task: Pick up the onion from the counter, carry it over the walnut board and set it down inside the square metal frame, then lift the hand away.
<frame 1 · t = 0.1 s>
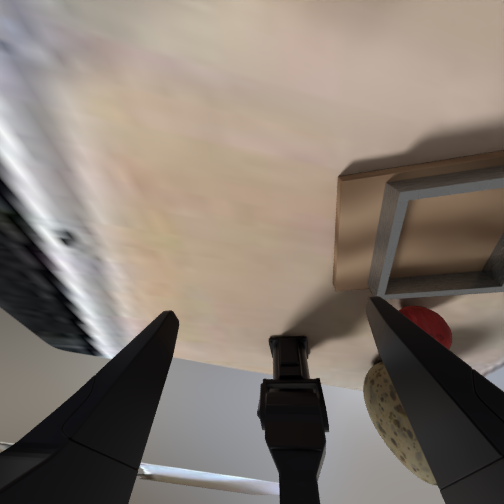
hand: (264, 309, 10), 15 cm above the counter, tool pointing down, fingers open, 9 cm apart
decorative egg: (384, 363, 39), on the counter
onion: (403, 306, 30), on the counter
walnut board: (432, 227, 22), on the counter
square metal frame: (450, 241, 20), on the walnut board, point 3 cm above the counter
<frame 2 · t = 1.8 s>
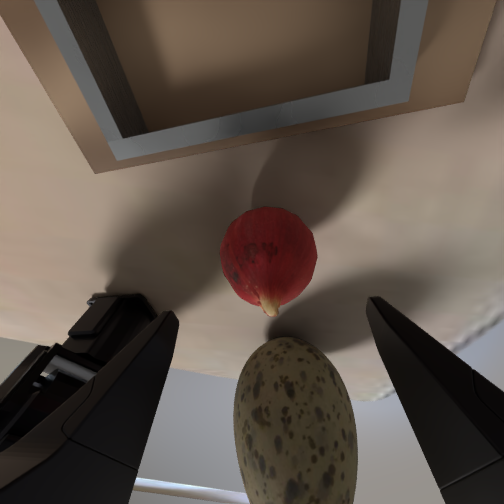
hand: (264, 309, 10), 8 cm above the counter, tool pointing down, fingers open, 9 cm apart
decorative egg: (286, 341, 25), on the counter
onion: (268, 225, 16), on the counter
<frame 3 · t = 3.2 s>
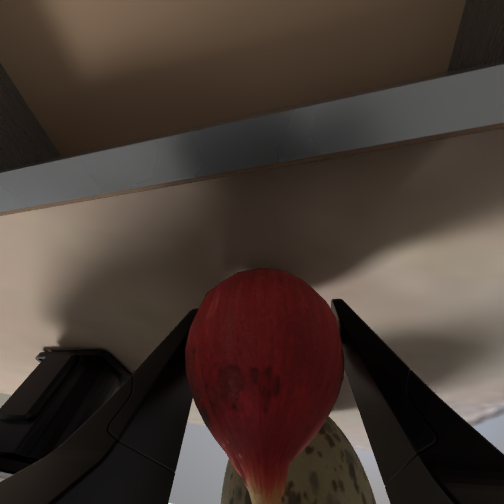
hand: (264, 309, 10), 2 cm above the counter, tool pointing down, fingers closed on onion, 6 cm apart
decorative egg: (289, 397, 20), on the counter
onion: (265, 277, 11), on the counter, touching gripper
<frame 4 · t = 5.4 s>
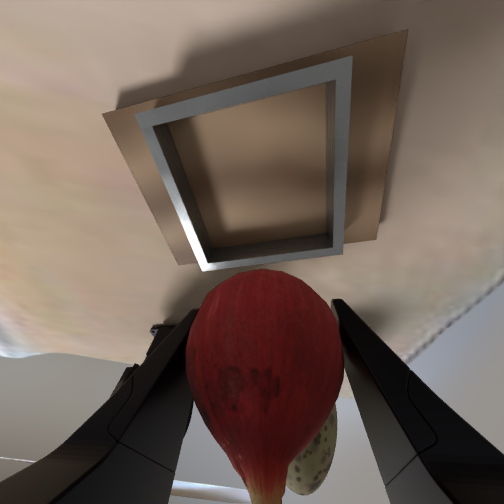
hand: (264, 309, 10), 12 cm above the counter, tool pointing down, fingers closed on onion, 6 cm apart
decorative egg: (289, 354, 35), on the counter
onion: (265, 277, 11), point 10 cm above the counter, touching gripper
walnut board: (257, 179, 18), on the counter
square metal frame: (256, 189, 16), on the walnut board, point 3 cm above the counter
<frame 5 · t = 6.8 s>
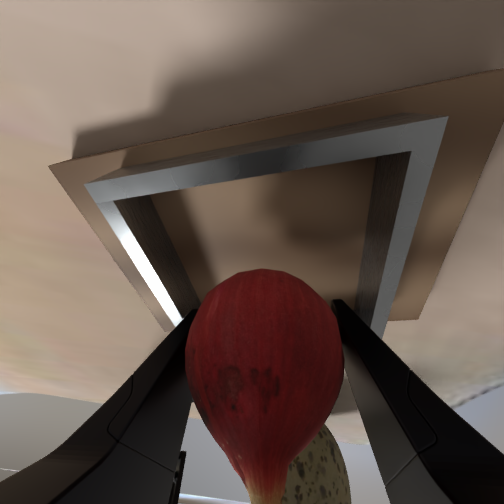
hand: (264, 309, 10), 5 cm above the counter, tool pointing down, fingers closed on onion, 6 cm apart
decorative egg: (294, 406, 31), on the counter
onion: (265, 277, 11), point 3 cm above the counter, touching gripper
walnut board: (267, 243, 14), on the counter
square metal frame: (266, 270, 12), on the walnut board, point 3 cm above the counter
when the fingers open (5 cm above the counter, at t = 7.8 s): onion drops 1 cm, resting on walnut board.
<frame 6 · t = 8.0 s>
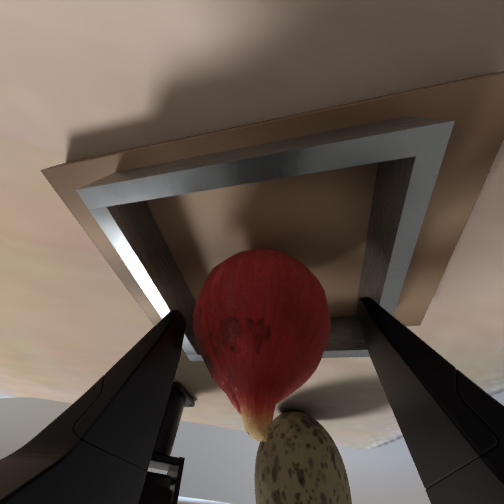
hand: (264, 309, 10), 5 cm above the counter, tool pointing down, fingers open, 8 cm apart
decorative egg: (294, 411, 30), on the counter
onion: (266, 262, 13), point 1 cm above the counter, touching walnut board
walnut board: (266, 248, 14), on the counter
square metal frame: (265, 276, 11), on the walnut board, point 3 cm above the counter
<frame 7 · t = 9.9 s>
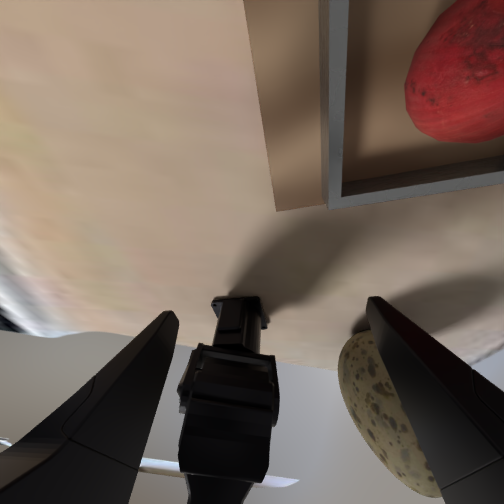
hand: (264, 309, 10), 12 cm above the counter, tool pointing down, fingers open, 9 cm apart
decorative egg: (367, 333, 30), on the counter
onion: (432, 73, 12), point 1 cm above the counter, touching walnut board
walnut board: (420, 73, 13), on the counter
square metal frame: (450, 69, 11), on the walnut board, point 3 cm above the counter
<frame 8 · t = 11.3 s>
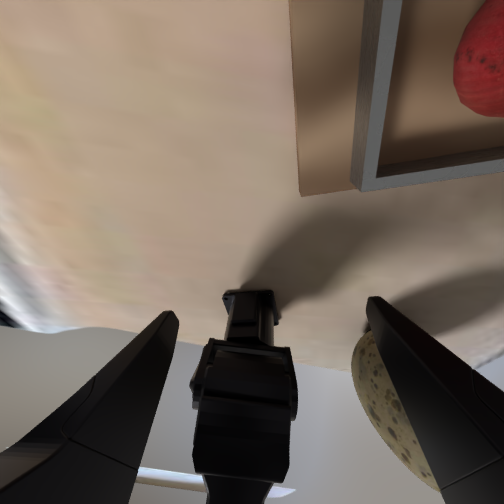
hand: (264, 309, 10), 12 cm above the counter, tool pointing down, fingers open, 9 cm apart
decorative egg: (379, 331, 29), on the counter
onion: (474, 52, 12), point 1 cm above the counter, touching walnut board
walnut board: (458, 54, 13), on the counter
square metal frame: (498, 44, 11), on the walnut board, point 3 cm above the counter
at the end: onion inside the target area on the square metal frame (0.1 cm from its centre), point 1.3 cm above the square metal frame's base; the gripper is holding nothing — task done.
